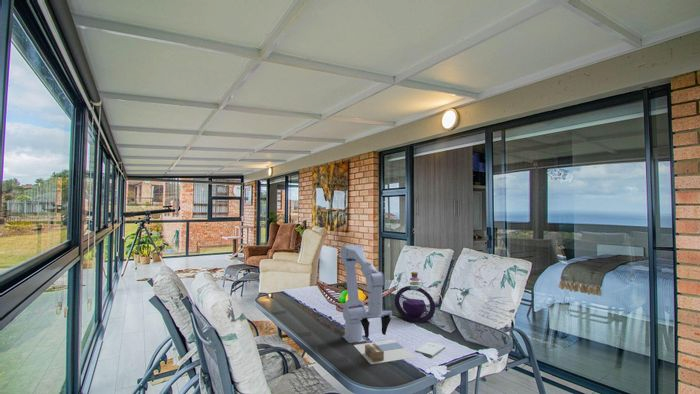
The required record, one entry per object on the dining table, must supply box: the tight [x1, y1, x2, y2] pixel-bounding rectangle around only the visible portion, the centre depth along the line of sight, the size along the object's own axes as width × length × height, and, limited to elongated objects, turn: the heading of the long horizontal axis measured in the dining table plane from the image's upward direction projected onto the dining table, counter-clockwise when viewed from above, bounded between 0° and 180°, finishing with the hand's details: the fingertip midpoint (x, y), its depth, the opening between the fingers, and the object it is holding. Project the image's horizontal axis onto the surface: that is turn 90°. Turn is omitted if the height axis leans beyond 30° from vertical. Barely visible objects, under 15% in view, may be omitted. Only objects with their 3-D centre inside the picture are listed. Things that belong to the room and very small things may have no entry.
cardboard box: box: [365, 343, 384, 362], centre depth 149 cm, size 9×4×4 cm, turn 19°
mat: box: [353, 339, 416, 365], centre depth 155 cm, size 20×20×1 cm
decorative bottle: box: [394, 271, 436, 324], centre depth 202 cm, size 22×21×25 cm
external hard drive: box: [414, 341, 446, 358], centre depth 157 cm, size 2×8×12 cm
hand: (375, 335), depth 149 cm, fingers open, 7 cm apart
